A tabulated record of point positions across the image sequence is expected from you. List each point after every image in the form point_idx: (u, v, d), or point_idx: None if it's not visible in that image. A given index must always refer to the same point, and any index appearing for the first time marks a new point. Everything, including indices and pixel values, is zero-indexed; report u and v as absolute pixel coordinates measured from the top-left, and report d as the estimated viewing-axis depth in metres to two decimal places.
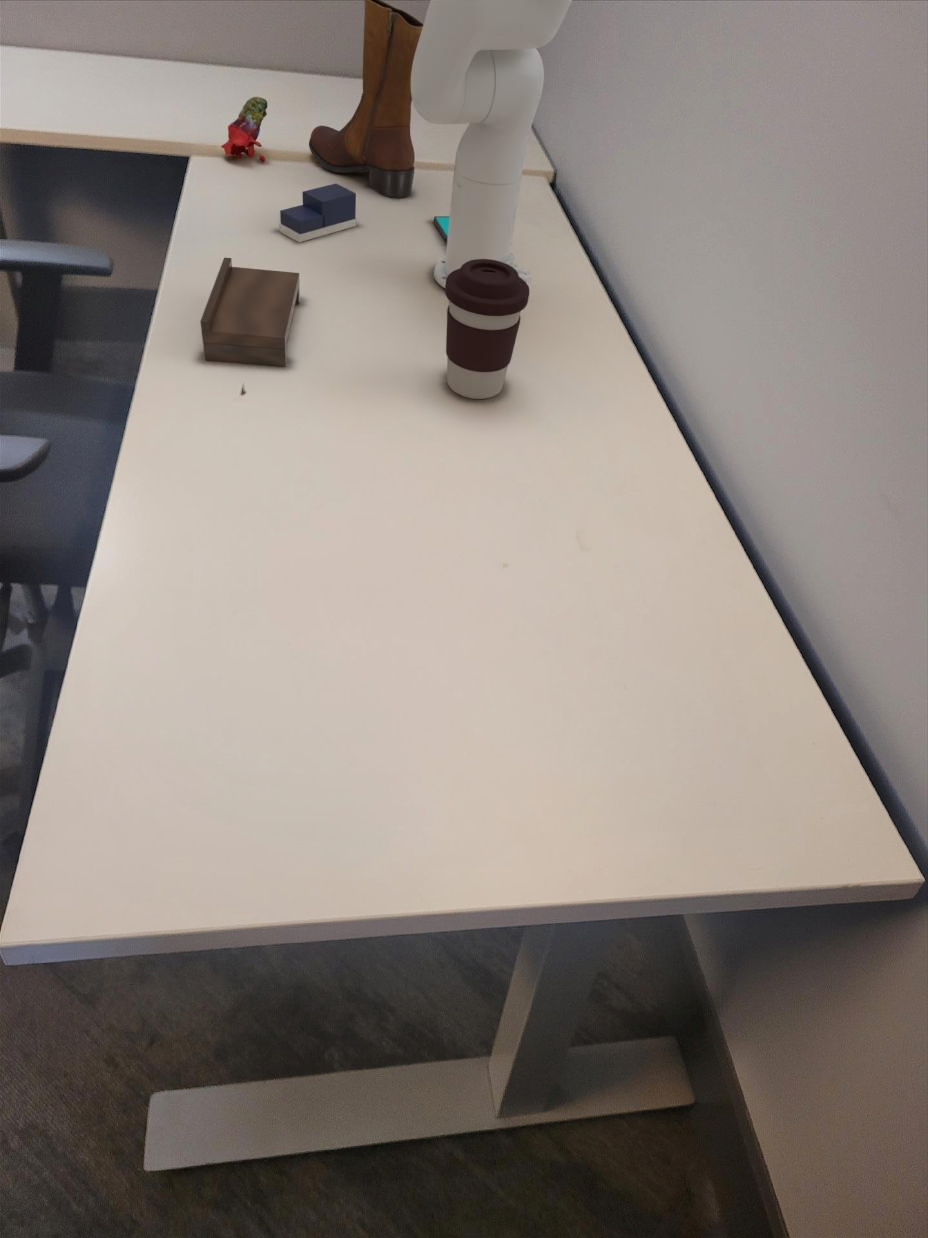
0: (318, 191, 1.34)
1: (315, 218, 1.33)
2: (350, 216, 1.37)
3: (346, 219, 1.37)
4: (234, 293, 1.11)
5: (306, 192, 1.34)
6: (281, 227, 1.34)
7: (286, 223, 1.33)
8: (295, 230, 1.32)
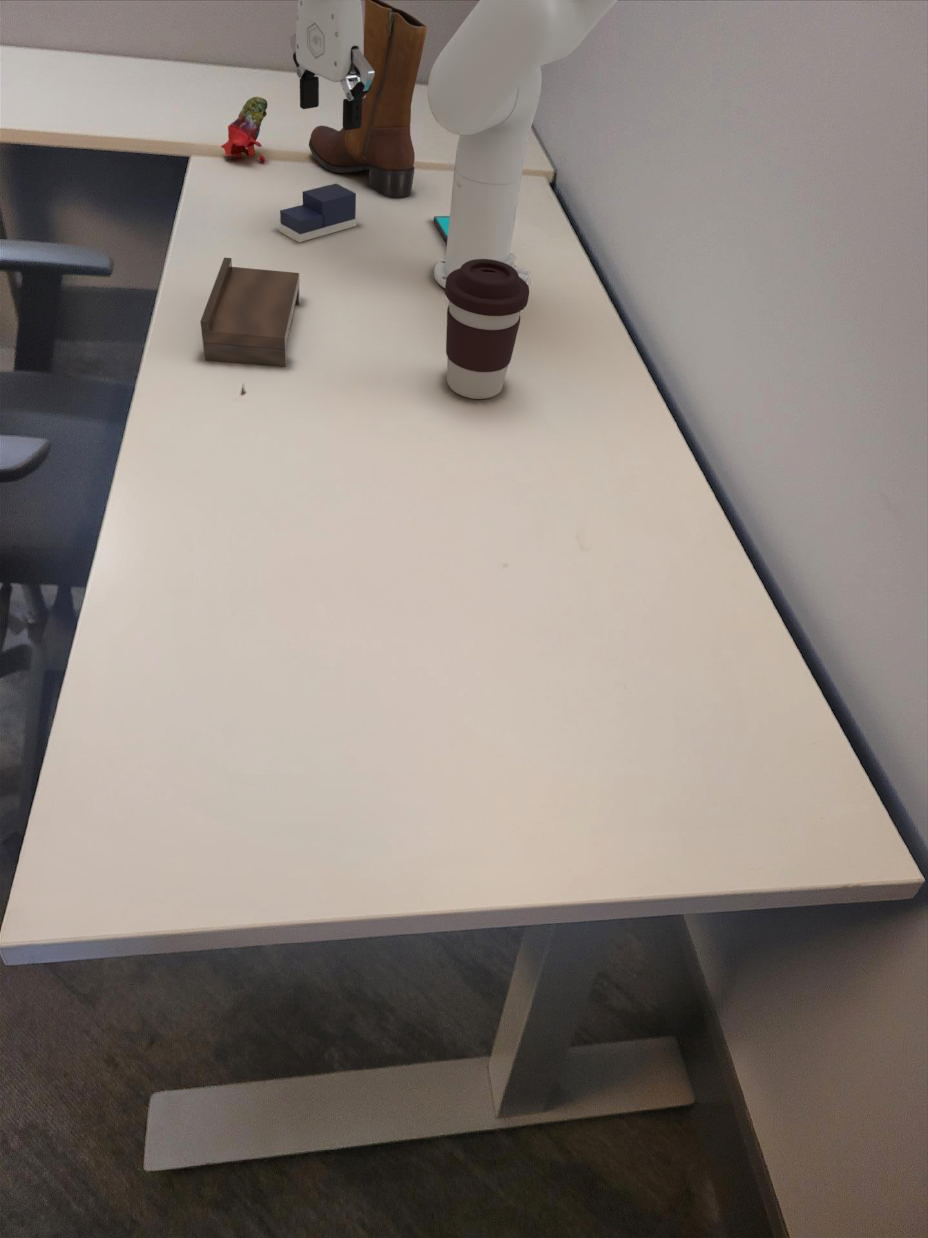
0: (318, 191, 1.34)
1: (315, 218, 1.33)
2: (350, 216, 1.37)
3: (346, 219, 1.37)
4: (234, 293, 1.11)
5: (306, 192, 1.34)
6: (281, 227, 1.34)
7: (286, 223, 1.33)
8: (295, 230, 1.32)
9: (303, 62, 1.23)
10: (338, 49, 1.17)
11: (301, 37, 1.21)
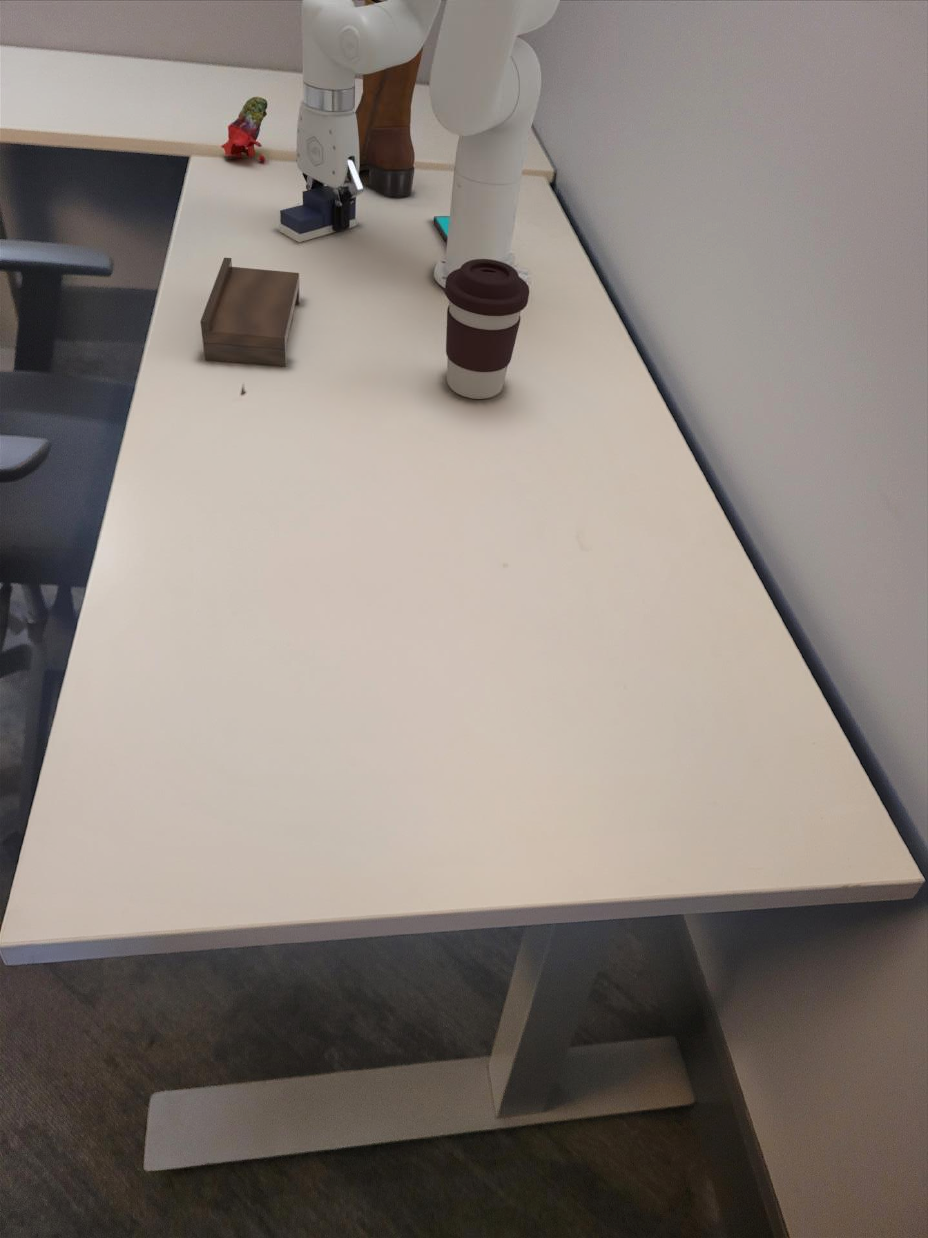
0: (318, 190, 1.34)
1: (315, 218, 1.33)
2: (350, 216, 1.37)
3: None
4: (234, 293, 1.11)
5: (306, 192, 1.34)
6: (281, 227, 1.34)
7: (286, 223, 1.33)
8: (295, 230, 1.32)
9: (303, 168, 1.32)
10: (336, 160, 1.27)
11: (301, 147, 1.30)
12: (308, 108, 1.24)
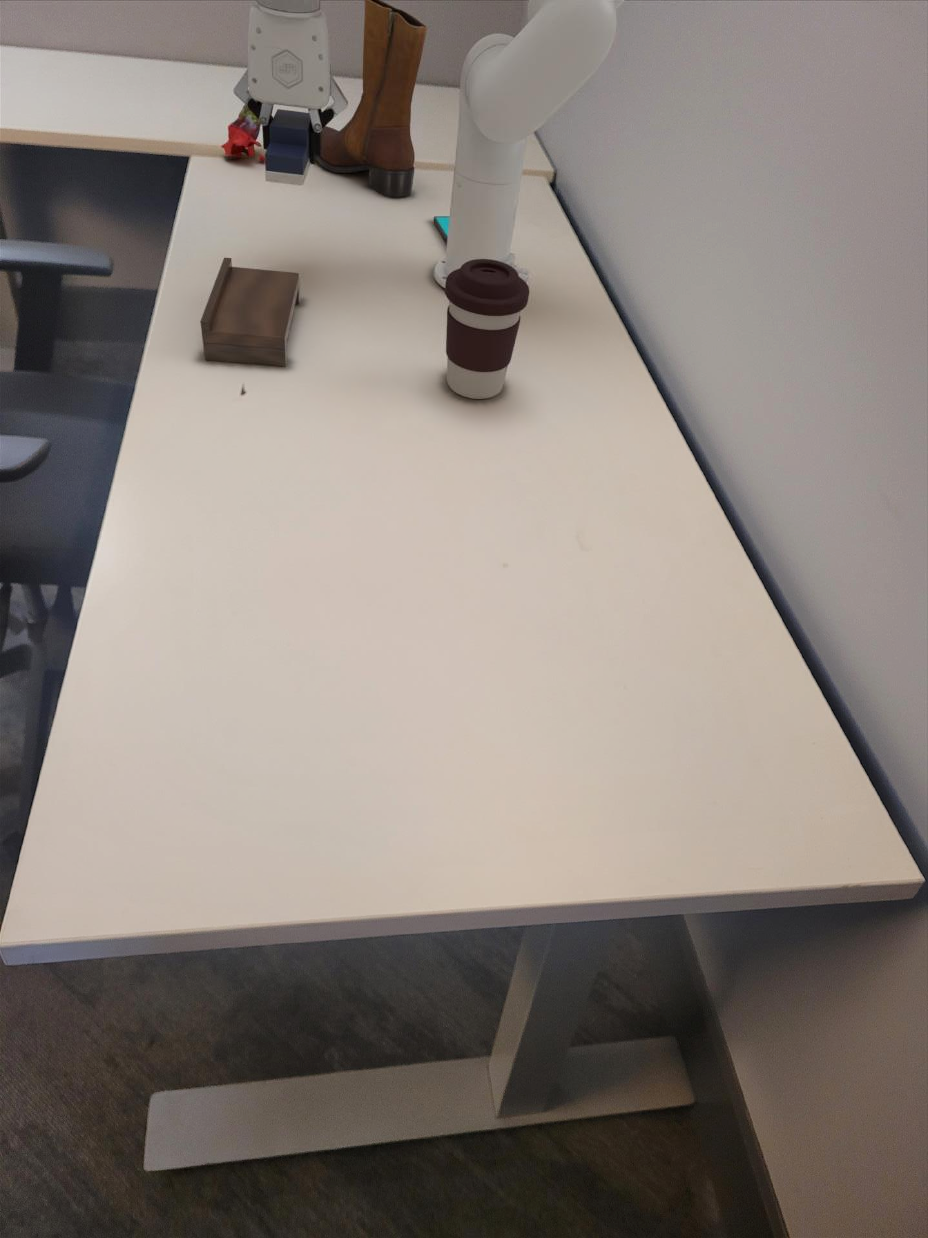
0: (281, 120, 1.11)
1: (306, 152, 1.11)
2: None
3: None
4: (234, 293, 1.11)
5: (275, 125, 1.10)
6: (270, 174, 1.09)
7: (277, 167, 1.09)
8: (294, 172, 1.09)
9: (266, 96, 1.08)
10: (324, 72, 1.06)
11: (261, 69, 1.06)
12: (282, 13, 1.01)
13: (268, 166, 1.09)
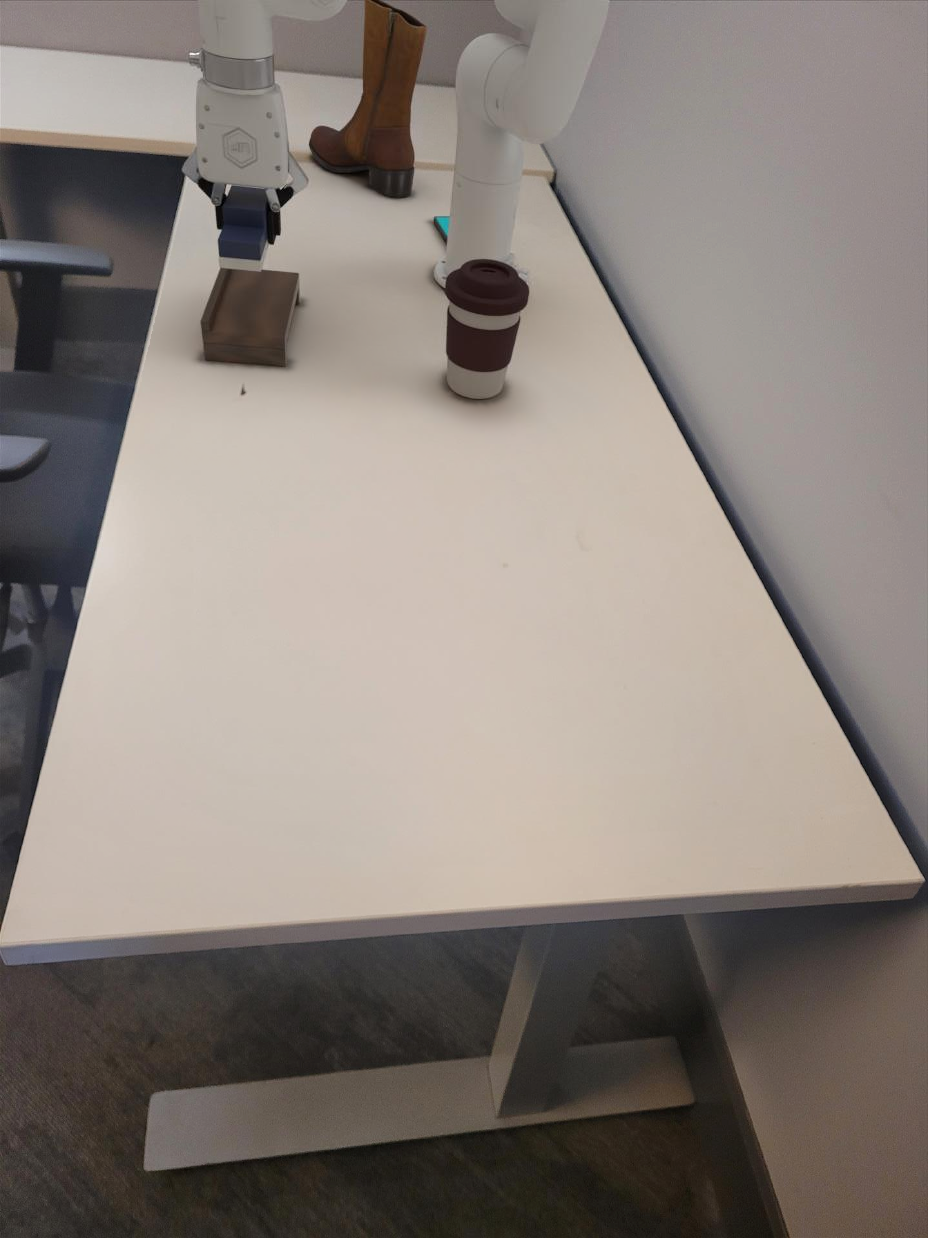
0: (235, 200, 1.02)
1: (263, 234, 1.01)
2: None
3: None
4: (234, 293, 1.11)
5: (228, 206, 1.00)
6: (224, 261, 1.00)
7: (232, 253, 0.99)
8: (251, 258, 1.00)
9: (217, 176, 0.98)
10: (281, 151, 0.97)
11: (211, 148, 0.96)
12: (233, 91, 0.91)
13: (222, 252, 0.99)
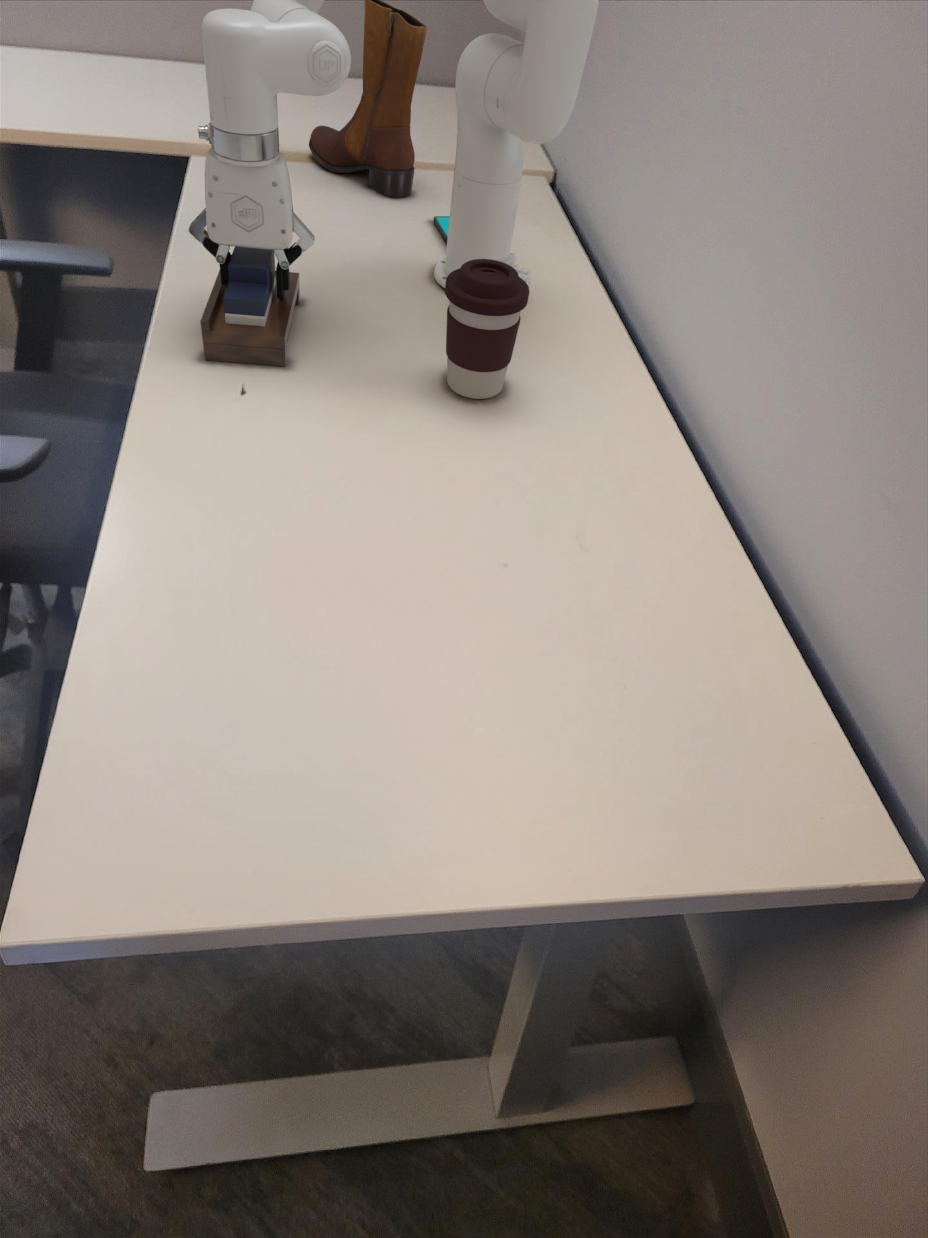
0: (240, 258, 1.07)
1: (267, 291, 1.06)
2: (274, 275, 1.12)
3: (273, 279, 1.11)
4: None
5: (233, 264, 1.05)
6: (229, 317, 1.05)
7: (237, 310, 1.04)
8: (255, 314, 1.05)
9: (225, 239, 1.03)
10: (285, 216, 1.02)
11: (220, 214, 1.01)
12: (240, 163, 0.96)
13: (227, 309, 1.04)
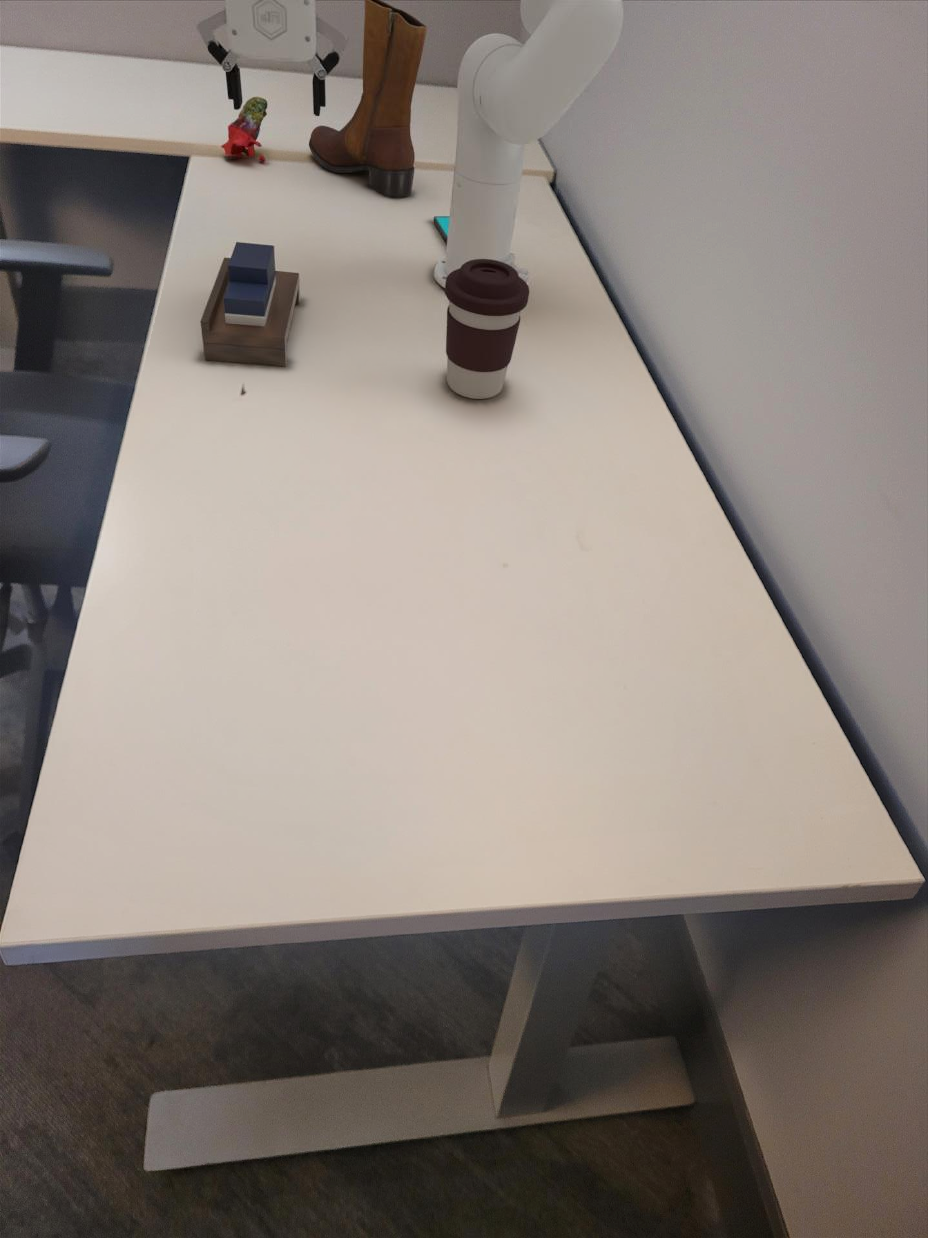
0: (240, 258, 1.07)
1: (267, 291, 1.06)
2: (274, 275, 1.12)
3: (273, 279, 1.11)
4: None
5: (233, 264, 1.05)
6: (229, 317, 1.05)
7: (237, 310, 1.04)
8: (255, 314, 1.05)
9: (247, 50, 0.98)
10: (310, 20, 0.97)
11: (241, 19, 0.96)
12: None
13: (227, 309, 1.04)
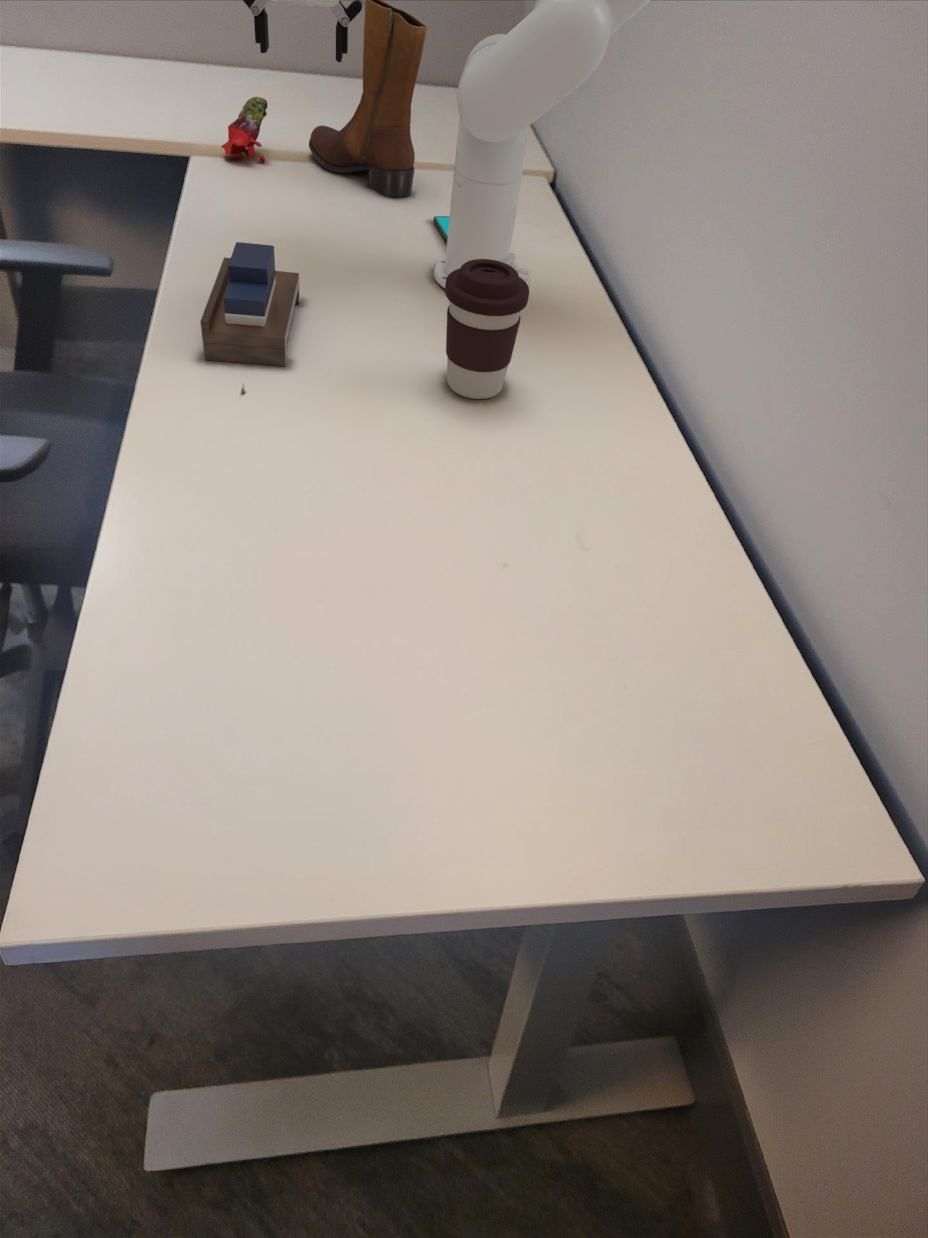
0: (240, 258, 1.07)
1: (267, 291, 1.06)
2: (274, 275, 1.12)
3: (273, 279, 1.11)
4: None
5: (233, 264, 1.05)
6: (229, 317, 1.05)
7: (237, 310, 1.04)
8: (255, 314, 1.05)
9: None
10: None
11: None
12: None
13: (227, 309, 1.04)
